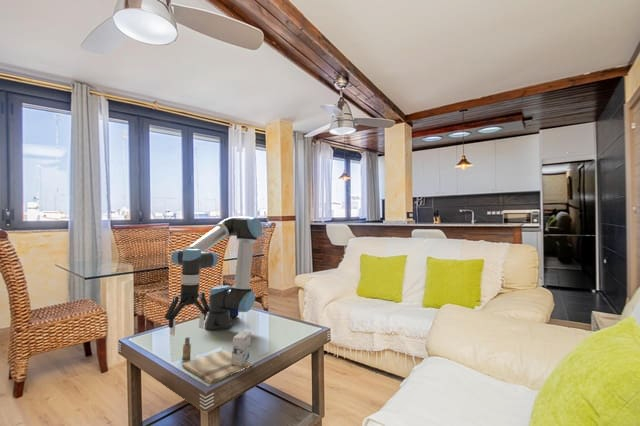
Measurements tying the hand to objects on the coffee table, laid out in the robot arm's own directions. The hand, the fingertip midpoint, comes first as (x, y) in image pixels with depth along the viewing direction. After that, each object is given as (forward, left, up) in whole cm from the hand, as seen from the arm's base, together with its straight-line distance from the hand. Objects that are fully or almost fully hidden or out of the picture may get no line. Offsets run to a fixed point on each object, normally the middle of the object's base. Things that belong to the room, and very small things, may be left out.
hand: (187, 331), depth 144 cm
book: (-46, -35, -12) cm, 60 cm away
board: (-5, +17, -12) cm, 21 cm away
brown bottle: (0, 0, -12) cm, 12 cm away
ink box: (-13, +22, -11) cm, 28 cm away
